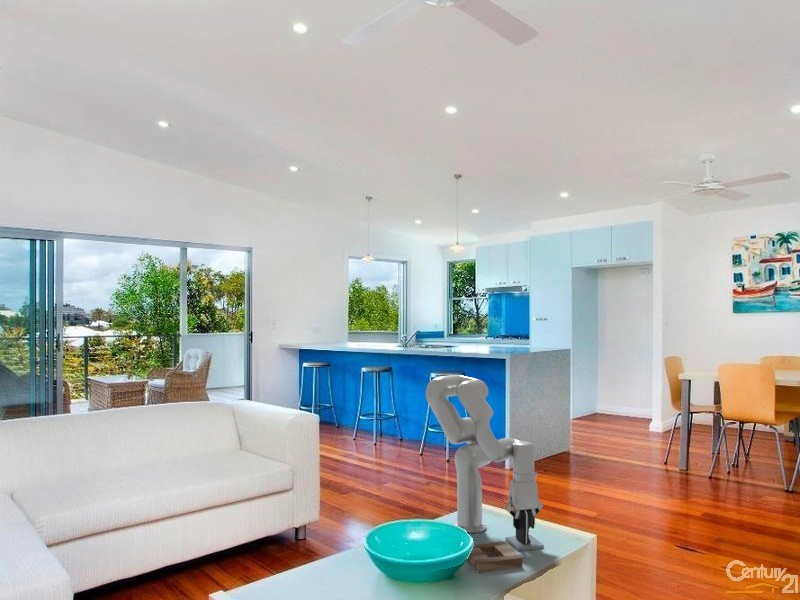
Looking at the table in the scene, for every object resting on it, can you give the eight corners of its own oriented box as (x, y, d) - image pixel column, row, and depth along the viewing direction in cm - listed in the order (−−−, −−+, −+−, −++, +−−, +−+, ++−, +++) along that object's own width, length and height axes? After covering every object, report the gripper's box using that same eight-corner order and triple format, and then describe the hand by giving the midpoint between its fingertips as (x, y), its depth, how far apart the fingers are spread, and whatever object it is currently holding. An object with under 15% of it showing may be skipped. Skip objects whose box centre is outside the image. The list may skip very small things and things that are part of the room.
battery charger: (534, 543, 201) (534, 511, 201) (524, 544, 200) (524, 511, 200) (524, 536, 207) (524, 505, 208) (514, 537, 206) (515, 505, 207)
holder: (462, 555, 194) (462, 546, 194) (504, 550, 198) (504, 541, 198) (477, 572, 181) (477, 562, 181) (522, 566, 185) (522, 557, 185)
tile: (505, 540, 207) (505, 537, 207) (530, 537, 209) (530, 534, 210) (517, 551, 197) (517, 548, 197) (543, 548, 200) (543, 545, 200)
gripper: (540, 472, 210) (540, 522, 209) (497, 475, 206) (497, 526, 205) (550, 478, 203) (550, 529, 202) (506, 481, 198) (506, 534, 198)
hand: (524, 527), depth 204 cm, fingers open, 5 cm apart
